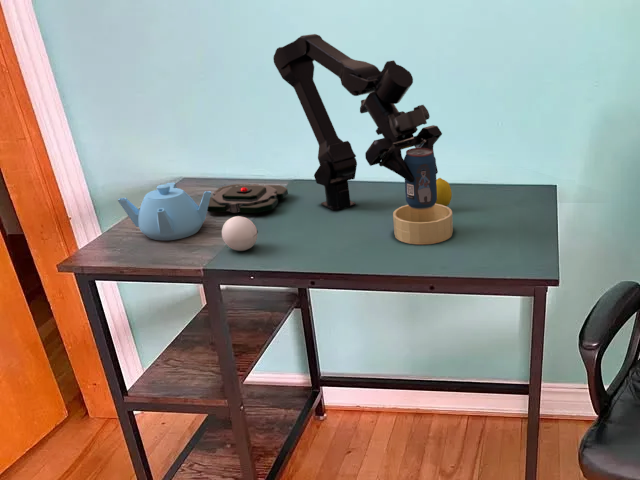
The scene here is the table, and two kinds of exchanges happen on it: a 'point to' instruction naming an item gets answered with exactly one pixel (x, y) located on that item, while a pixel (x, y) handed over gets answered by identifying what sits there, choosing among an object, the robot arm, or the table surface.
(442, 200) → the lemon
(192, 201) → the teapot
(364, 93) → the robot arm
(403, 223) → the cream yellow bowl
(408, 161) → the soda can
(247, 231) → the white ball
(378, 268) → the table surface
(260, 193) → the dark brown layered slab
